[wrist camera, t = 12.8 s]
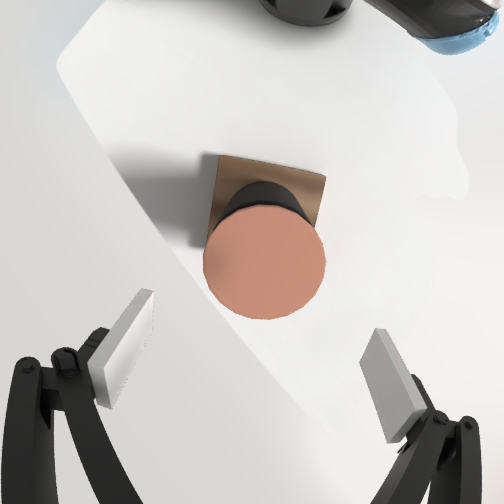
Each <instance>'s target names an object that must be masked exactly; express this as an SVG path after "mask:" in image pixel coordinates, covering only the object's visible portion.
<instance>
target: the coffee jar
mask: <svg viewBox="0 0 504 504" xmlns="http://www.w3.org/2000/svg"><path fill="white" fill-rule="evenodd" d="M325 265H326V259H325V253H324V248H323V243H322V242H321V240H320V238H319V236H318V234H317V233H316V231H315V229H314V227H313V226H312V224H311V222H310V221H309V219H308V217H307V216H306V214H305V212H304V211H303V209H302V207H301V206H300V204H299V202H298V201H297V199H296V197H295V196H294V194H293V193H291V192H290V191H289V190H288V189H287V188H285V187H284V186H282V185H279V184H277V183H274V182H268V181H258V182H254V183H251V184H247V185H246V186H244V187H243V188H241V189H240V190H238V191H237V192H236V193H235V195H234V196H233V197H232V198H231V200H230V201H229V203H228V205H227V206H226V208H225V210H224V211H223V213H222V215H221V217H220V218H219V220H218V222H217V223H216V225H215V227H214V229H213V232H212V234H211V235H210V236H209V238H208V241H207V244H206V247H205V250H204V253H203V273H204V275H205V278H206V281H207V284H208V286H209V289H210V290H211V292H212V293H213V294H214V295H215V297H216V298H217V299H218V301H219V302H220V303H221V304H223V305H224V306H226V307H227V308H228V309H230V310H231V311H233V312H234V313H236V314H239V315H242V316H245V317H248V318H251V319H268V320H270V319H275V318H279V317H284V316H288V315H289V314H291V313H293V312H295V311H297V310H299V309H301V308H302V307H304V306H305V305H306V304H307V303H308V302H309V301H310V300H311V299H312V298H313V297H314V296H315V294H316V292H317V290H318V288H319V286H320V285H321V283H322V281H323V278H324V271H325Z"/></svg>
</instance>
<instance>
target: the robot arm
mask: <svg viewBox="0 0 504 504" xmlns="http://www.w3.org/2000/svg"><path fill="white" fill-rule="evenodd" d="M259 1H260V2H261V4H262V5H263V6H264V7H265V8H266V9H267V10H268V11H269V12H270V13H271V14H273V15H274V16H276V17H278V18H279V19H282V20H284V21H286V22H289V23H292V24H296V25H302V26H321V25H326V24H330V23H332V22H335V21H336V20H338V19H340V18H341V17H342V16H343V15H344V14H345V13H346V12H347V10H348V9H349V7H350V5H351V3H352V1H353V0H259ZM363 1H365V2H367V3H368V4H370V5H371V6H373V7H374V8H376V9H377V10H379V11H380V12H382V13H383V14H385V15H386V16H388V17H389V18H391V19H392V20H393V21H395V22H396V23H398V24H399V25H400V26H402V27H403V28H404V29H406V30H407V32H408V33H409V34H410V35H411V36H412V37H413V38H416V39H418V40H420V41H421V42H422V43H423V44H425V45H426V46H427V47H429V48H430V49H431V50H433V51H435V52H437V53H439V54H443V55H455V54H460V53H464V52H466V51H469V50H471V49H473V48H475V47H477V46H479V45H480V44H482V43H483V42H484V41H485V38H486V37H487V36H491V35H492V33H494V31H495V30H496V28H497V26H498V23H499V15H498V13H497V9H499V8H500V7H501V6H502V0H363ZM153 306H154V291H151V290H147V289H143V288H142V289H141V290H140V291H139V292H138V293H137V295H136V296H135V297H134V299H133V300H132V301H131V303H130V304H129V305H128V307H127V308H126V309H125V311H124V312H123V313H122V315H121V316H120V318H119V319H118V320H117V321H116V323H115V324H114V326H113V327H112V328H111V330H109V329H106V328H102V327H100V328H98V329H97V330H95V331H93V332H92V333H91V335H90V336H89V337H88V339H87V340H86V341H85V342H84V344H83V345H82V346H81V348H80V349H79V350H78V352H77V351H76V350H74V349H72V348H69V347H63V348H60V349H57V350H56V351H54V352H53V354H52V355H51V362H52V365H53V368H49V367H41V365H40V363H39V361H38V360H37V359H35V358H34V357H24V358H21V359H20V360H19V361H18V362H17V363H16V365H15V368H14V373H13V378H12V383H11V388H10V393H9V398H8V404H7V411H6V418H5V426H4V435H3V446H2V464H1V496H2V497H1V498H2V504H59V503H58V495H57V487H56V475H55V459H54V410H59V411H64V412H65V415H66V419H67V422H68V425H69V428H70V431H71V435H72V438H73V441H74V444H75V446H76V449H77V452H78V455H79V457H80V460H81V462H82V465H83V468H84V470H85V472H86V475H87V477H88V480H89V482H90V484H91V486H92V489H93V491H94V493H95V495H96V497H97V499H98V501H99V503H100V504H143V502H142V501H141V499H140V497H139V496H138V494H137V492H136V491H135V489H134V487H133V485H132V484H131V482H130V480H129V478H128V476H127V474H126V472H125V471H124V469H123V467H122V465H121V463H120V461H119V459H118V457H117V455H116V453H115V451H114V449H113V446H112V444H111V442H110V440H109V437H108V435H107V433H106V431H105V428H104V426H103V424H102V421H101V419H100V416H99V414H98V412H97V409H96V406H95V404H94V399H95V397H96V401H97V404H98V405H101V406H103V407H106V408H109V409H113V407H114V405H115V403H116V401H117V399H118V397H119V395H120V393H121V391H122V389H123V386H124V384H125V383H126V381H127V379H128V377H129V375H130V373H131V371H132V369H133V367H134V365H135V363H136V361H137V359H138V357H139V356H140V354H141V352H142V350H143V348H144V346H145V344H146V342H147V340H148V339H149V337H150V335H151V333H152V331H153ZM359 363H360V366H361V369H362V371H363V374H364V377H365V379H366V382H367V385H368V388H369V390H370V393H371V396H372V399H373V402H374V405H375V408H376V411H377V413H378V417H379V420H380V423H381V425H382V428H383V431H384V435H385V438H386V441H387V443H398V442H400V441H401V440H402V439H403V438H404V437H405V435H406V438H407V440H408V441H407V442H406V443H405V444H404V445H403V446H402V447H401V449H400V450H399V451H398V452H397V453H399V452H400V451H401V452H400V454H399V456H398V457H397V459H396V461H395V463H394V465H393V467H392V469H391V470H390V472H389V474H388V476H387V477H386V479H385V481H384V483H383V484H382V486H381V488H380V489H379V491H378V493H377V494H376V496H375V497H374V499H373V500H372V502H371V503H370V504H420V503H421V501H422V499H423V497H424V495H425V492H426V490H427V488H428V485H429V483H430V480H431V484H430V491H429V497H428V503H427V504H481V497H482V466H481V448H480V435H479V426H478V423H477V422H476V420H475V419H474V418H472V417H470V416H464V417H462V419H461V420H460V421H459V422H456V421H450V420H449V418H448V417H447V415H446V414H445V413H443V412H441V411H438V410H435V408H434V406H433V404H432V402H431V400H430V398H429V396H428V394H427V393H426V391H425V389H424V387H423V385H422V383H421V381H420V380H419V379H418V378H417V377H416V376H415V375H414V374H410V373H409V371H408V369H407V367H406V365H405V363H404V361H403V359H402V358H401V356H400V354H399V352H398V350H397V348H396V347H395V345H394V343H393V341H392V339H391V338H390V336H389V334H388V332H387V331H386V329H377V328H375V330H374V332H373V335H372V337H371V339H370V341H369V343H368V345H367V348H366V350H365V352H364V354H363V356H362V358H361V360H360V362H359Z"/></svg>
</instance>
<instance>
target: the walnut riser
mask: <svg viewBox="0 0 504 504" xmlns="http://www.w3.org/2000/svg"><path fill="white" fill-rule="evenodd" d="M258 181H268V182H274V183H277V184H279V185H282V186H284V187H285V188H287V189H288V190H289V191H290V192H291V193H293V194H294V196H295V197H296V199H297V201H298V202H299V204H300V206H301V207H302V209H303V211H304V212H305V214H306V216H307V217H308V219H309V221H310V222H311V224H312V226H313V227H314V228H315V223H316V219H317V215H318V211H319V207H320V203H321V199H322V194H323V190H324V186H325V181H326V176H324V175H322V174H317V173H313V172H309V171H304V170H300V169H295V168H290V167H286V166H281V165H276V164H271V163H266V162H260V161H255V160H250V159H244V158H238V157H232V156H226V155H221V156H220V159H219V165H218V170H217V176H216V183H215V189H214V195H213V201H212V208H211V215H210V221H209V228H208V235H207V241H208V238H209V236H210V235H211V234H212V232H213V229H214V227H215V225H216V223H217V222H218V220H219V218H220V217H221V215H222V213H223V211H224V210H225V208H226V206H227V205H228V203H229V201H230V200H231V198H232V197H233V196H234V195H235V193H236V192H237V191H238V190H240V189H241V188H243V187H244V186H246V185H247V184H251V183H254V182H258ZM206 244H207V242H206Z"/></svg>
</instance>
